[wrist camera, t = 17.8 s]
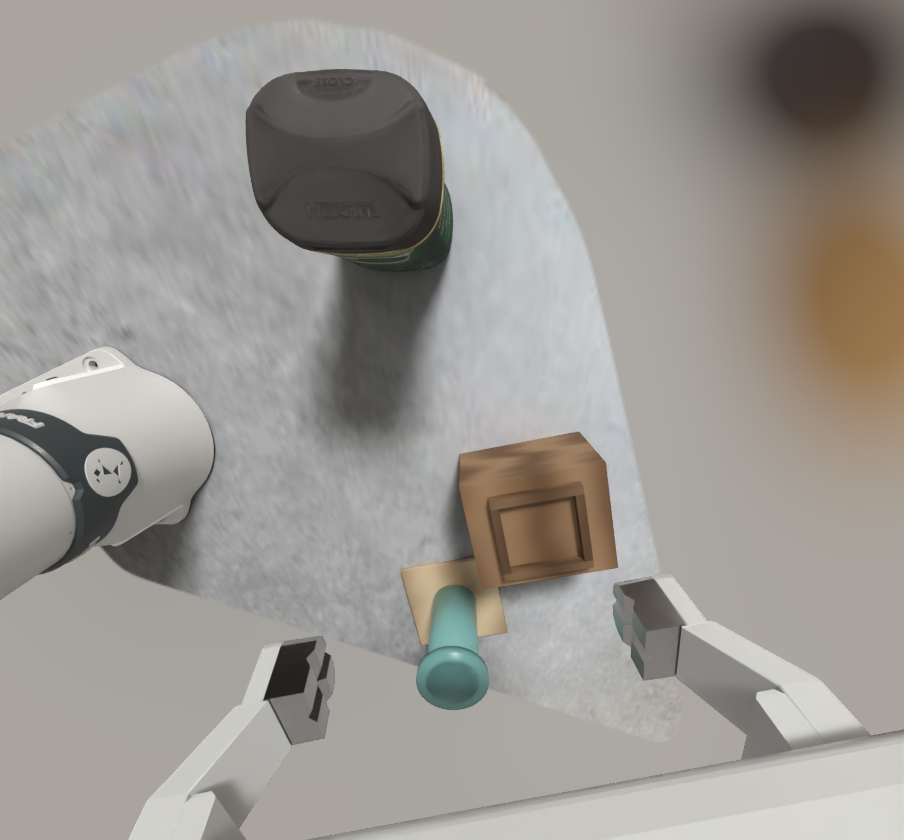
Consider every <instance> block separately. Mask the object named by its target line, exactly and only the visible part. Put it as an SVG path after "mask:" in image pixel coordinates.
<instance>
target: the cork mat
mask: <svg viewBox="0 0 904 840" xmlns="http://www.w3.org/2000/svg"><path fill="white" fill-rule="evenodd" d="M401 574H402V578H403V581H404V585H405V588H406V592H407V595H408V599H409V602H410V606H411V609H412V613H413V616H414V620H415V623H416V627H417V630H418V634H419V638H420V641H421V645H428V644H429V637H430V627H431V617H432V607H433V598H434V596H435V594H436V593H437V591H438V590H440V589H441V588H442V587H445V586H447V585H461V586H464V587H466V588H468V589H469V590H470V591H471V592H472V593H473V594H474V596H475V599H476V611H477V634H478V637H480V636H487V635H494V634H500V633H507V627H506V622H505V617H504V613H503V608H502V603H501V599H500V594H499V589H498V587H496V588H489V589H483V590H482V588H481V584H480V580H479V575H478V571H477V566H476V562H475V557H471V558H465V559H459V560H453V561H447V562H441V563H435V564H429V565H423V566H417V567H411V568H405V569H402V570H401Z"/></svg>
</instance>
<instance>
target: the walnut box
mask: <svg viewBox="0 0 904 840" xmlns="http://www.w3.org/2000/svg"><path fill="white" fill-rule="evenodd" d="M459 491H460V495H461V500H462V504H463V509H464V513H465V517H466V522H467V526H468V531H469V535H470V540H471V544H472V549H473V553H474V557H475V562H476V566H477V571H478V575H479V580H480V584H481V588H482V590H483V589H489V588H496V587H502V586H508V585H514V584H520V583H527V582H533V581H539V580H545V579H551V578H558V577H564V576H570V575H576V574H582V573H589V572H595V571H601V570H607V569H614V568H618V563H617V555H616V546H615V538H614V529H613V521H612V512H611V503H610V495H609V486H608V478H607V469H606V462H605V461H604V460H603V459H602V458H601V456H600V455H599V454H598V453H597V452H596V451H595V450H594V448H593V447H592V446H591V445H590V444H589V443H588V441H587V440H586V439H585V438H584V437H583V436H582V435H581V433H580V432H575V433H569V434H564V435H559V436H554V437H548V438H543V439H538V440H532V441H527V442H522V443H516V444H511V445H506V446H501V447H495V448H490V449H485V450H479V451H474V452H469V453H463V454H460V468H459Z"/></svg>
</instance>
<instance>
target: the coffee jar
mask: <svg viewBox="0 0 904 840" xmlns="http://www.w3.org/2000/svg"><path fill="white" fill-rule="evenodd" d="M246 144H247V155H248V164H249V171H250V177H251V182H252V187H253V192H254V196H255V199H256V202H257V204H258V206H259V208H260V210H261V212H262V214H263V215H264V217H265V218H266V220H267V221H268V222H269V224H270V225H271V226H272V227H273V228H274V229H275V230H276V231H277V232H278V233H279V234H280V235H282V236H283V237H284V238H286V239H288V240H289V241H291V242H292V243H294V244H295V245H297V246H299V247H301V248H303V249H307V250H310V251H315V252H320V253H325V254H330V255H335V256H339V257H342V258H344V259H347V260H349V261H351V262H353V263H355V264H357V265H359V266H362V267H364V268H368V269H374V270H382V271H415V270H422V269H428V268H431V267H434V266H436V265H438V264H439V263H440V262H441V261H442V260H443V259H444V258H445V257H446V256H447V254H448V252H449V249H450V246H451V241H452V232H453V213H452V204H451V199H450V195H449V192H448V189H447V187H446V185H445V183H444V158H443V149H442V142H441V136H440V133H439V130H438V127H437V124H436V122H435V120H434V119H433V117H432V115H431V113H430V111H429V109H428V107H427V105H426V103H425V102H424V100H423V98H422V97H421V96H420V94H419V93H418V91H417V90H416V89H415V88H414V87H413V86H412V85H411V84H410V83H409V82H407V81H406V80H405V79H403V78H402V77H400V76H398V75H395V74H393V73H389V72H385V71H378V70H374V71H372V70H352V69H330V70H319V71H307V72H295V73H290V74H285V75H282V76H280V77H277V78H275V79H273V80H271V81H270V82H268V83H267V84H266V85H265V86H264V87H262V88H261V89H260V91H259V92H258V93H257V94H256V95H255V97H254V98H253V100H252V102H251V104H250V106H249V107H248V109H247V111H246Z"/></svg>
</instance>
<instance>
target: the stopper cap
mask: <svg viewBox="0 0 904 840" xmlns="http://www.w3.org/2000/svg"><path fill="white" fill-rule="evenodd" d="M416 683H417V688H418V690H419V692H420V694H421V695H422V697H423V698H424V699H425V700H426V701H427V702H429V703H430V704H432V705H434V706H436V707H439V708H442V709H447V710H460V709H465V708H468V707H471V706H473V705H475V704H476V703H478V702H479V701H480V700H481V699H482V698H483V697H484V695H485V694H486V692H487V690H488V685H489V679H488V669H487V666H486V664H485V662H484V661H483V659H482V658H481V657H480V656H479V655H478V634H477V611H476V599H475V596H474V594H473V593H472V592H471V591H470V590H469V589H468V588H466V587H464V586H461V585H447V586H445V587H442V588H441V589H440V590H438V591H437V593H436V594H435V596H434V598H433V607H432V617H431V627H430V637H429V648H428V654H426V655H425V656H424V657H423V659H422V660H421V661H420V663H419V666H418V670H417V678H416Z"/></svg>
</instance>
